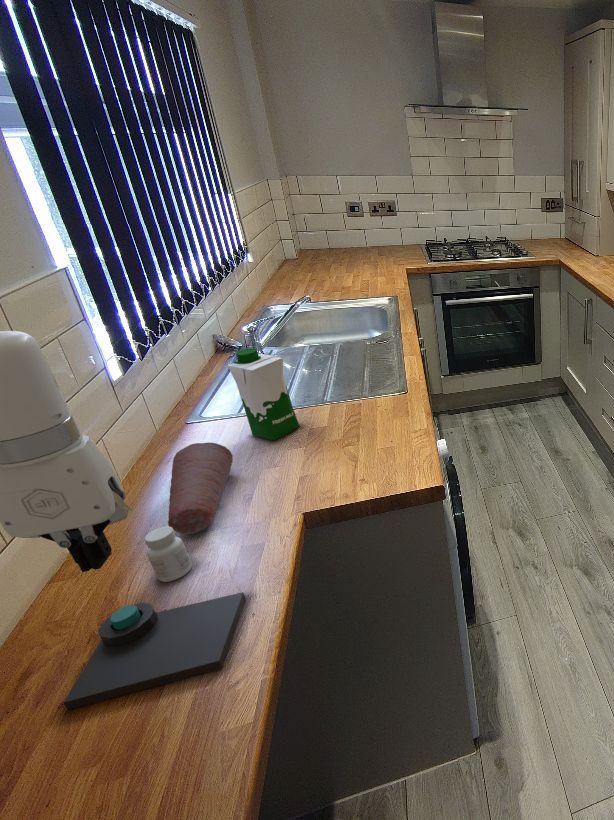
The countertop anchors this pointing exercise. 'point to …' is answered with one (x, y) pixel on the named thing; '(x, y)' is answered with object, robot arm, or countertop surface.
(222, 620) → the scale
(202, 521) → the food
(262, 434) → the milk carton
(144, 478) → the countertop surface
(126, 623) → the button
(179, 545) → the pill bottle
